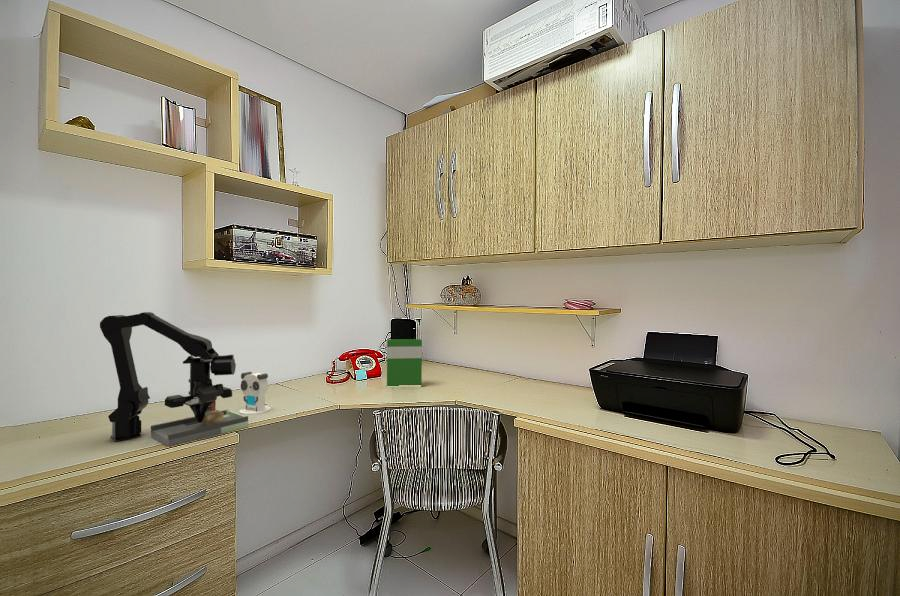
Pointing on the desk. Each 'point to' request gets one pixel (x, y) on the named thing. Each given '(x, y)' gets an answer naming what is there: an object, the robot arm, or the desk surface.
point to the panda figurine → (254, 392)
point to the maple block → (213, 417)
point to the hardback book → (404, 362)
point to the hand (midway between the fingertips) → (199, 422)
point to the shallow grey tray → (196, 428)
